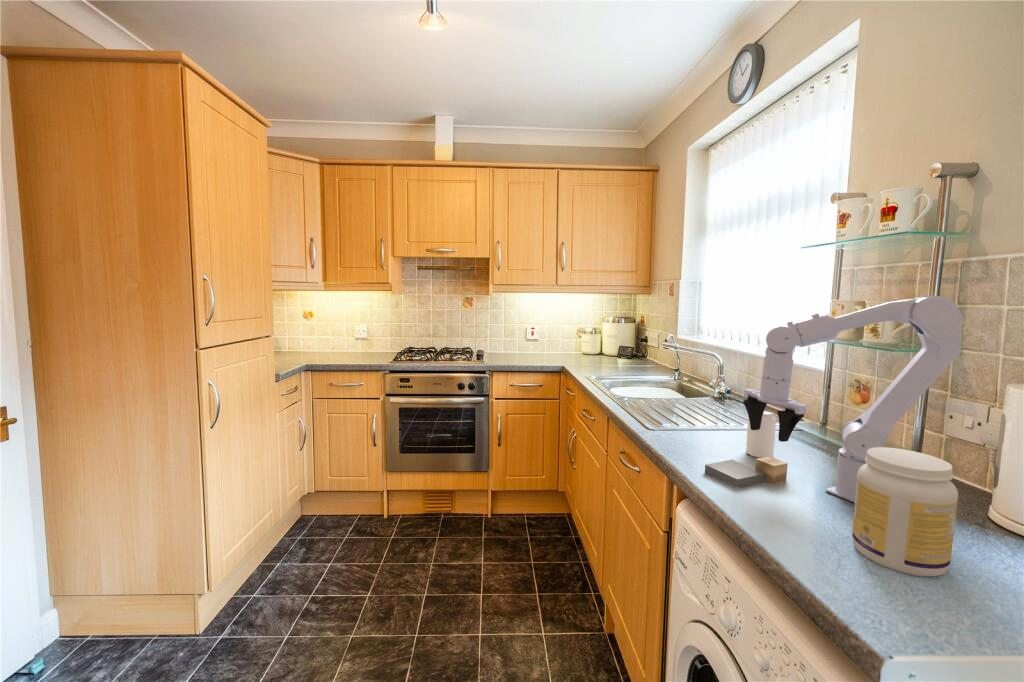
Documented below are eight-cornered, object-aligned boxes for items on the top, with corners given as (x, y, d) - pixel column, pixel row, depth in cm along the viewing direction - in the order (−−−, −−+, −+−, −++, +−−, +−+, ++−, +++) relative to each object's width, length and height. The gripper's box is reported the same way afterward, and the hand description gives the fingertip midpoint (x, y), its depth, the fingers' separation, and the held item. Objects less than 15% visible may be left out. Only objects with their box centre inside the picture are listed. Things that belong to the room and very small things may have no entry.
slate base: (764, 481, 101) (765, 473, 100) (737, 488, 97) (737, 479, 97) (731, 467, 109) (732, 459, 109) (704, 472, 105) (705, 464, 105)
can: (766, 451, 121) (769, 408, 119) (778, 459, 114) (781, 415, 113) (741, 449, 121) (744, 407, 120) (752, 458, 115) (755, 414, 114)
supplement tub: (946, 555, 73) (958, 457, 71) (952, 592, 63) (966, 480, 62) (853, 528, 81) (862, 440, 79) (847, 557, 72) (856, 458, 70)
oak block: (786, 481, 101) (787, 463, 100) (772, 485, 99) (774, 465, 99) (768, 474, 105) (769, 456, 105) (754, 477, 103) (756, 458, 103)
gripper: (737, 371, 106) (730, 426, 108) (792, 386, 92) (783, 447, 94) (759, 371, 108) (752, 424, 110) (816, 385, 94) (807, 445, 96)
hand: (768, 435), depth 102 cm, fingers open, 7 cm apart
